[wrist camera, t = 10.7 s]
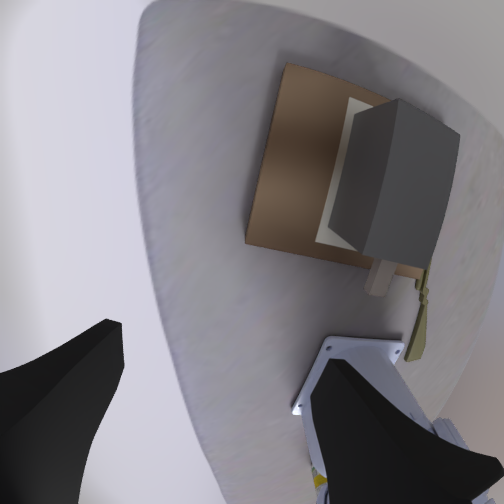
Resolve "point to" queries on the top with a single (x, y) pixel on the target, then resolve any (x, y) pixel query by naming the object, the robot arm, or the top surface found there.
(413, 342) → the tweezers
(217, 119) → the top surface
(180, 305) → the top surface
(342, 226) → the block
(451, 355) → the top surface
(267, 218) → the pin board
